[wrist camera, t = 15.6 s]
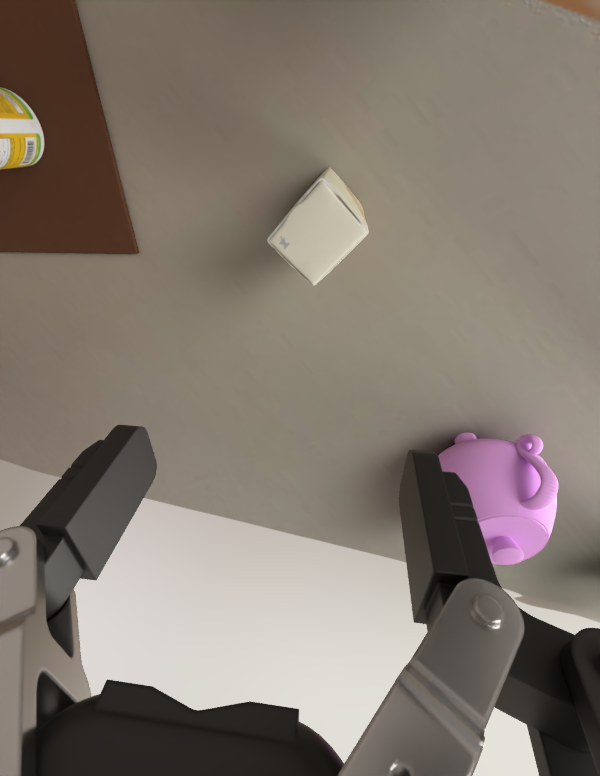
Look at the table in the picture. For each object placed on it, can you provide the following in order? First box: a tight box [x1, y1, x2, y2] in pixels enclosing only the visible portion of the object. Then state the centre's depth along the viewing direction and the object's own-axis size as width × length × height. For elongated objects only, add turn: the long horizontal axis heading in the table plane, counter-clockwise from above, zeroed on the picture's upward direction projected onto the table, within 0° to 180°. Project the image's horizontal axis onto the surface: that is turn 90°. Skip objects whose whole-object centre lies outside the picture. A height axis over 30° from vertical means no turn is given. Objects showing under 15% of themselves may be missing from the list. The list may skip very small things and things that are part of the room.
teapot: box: [438, 433, 558, 565], centre depth 42 cm, size 20×14×12 cm
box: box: [267, 167, 369, 286], centre depth 27 cm, size 5×4×11 cm
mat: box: [0, 0, 139, 254], centre depth 31 cm, size 20×16×1 cm
